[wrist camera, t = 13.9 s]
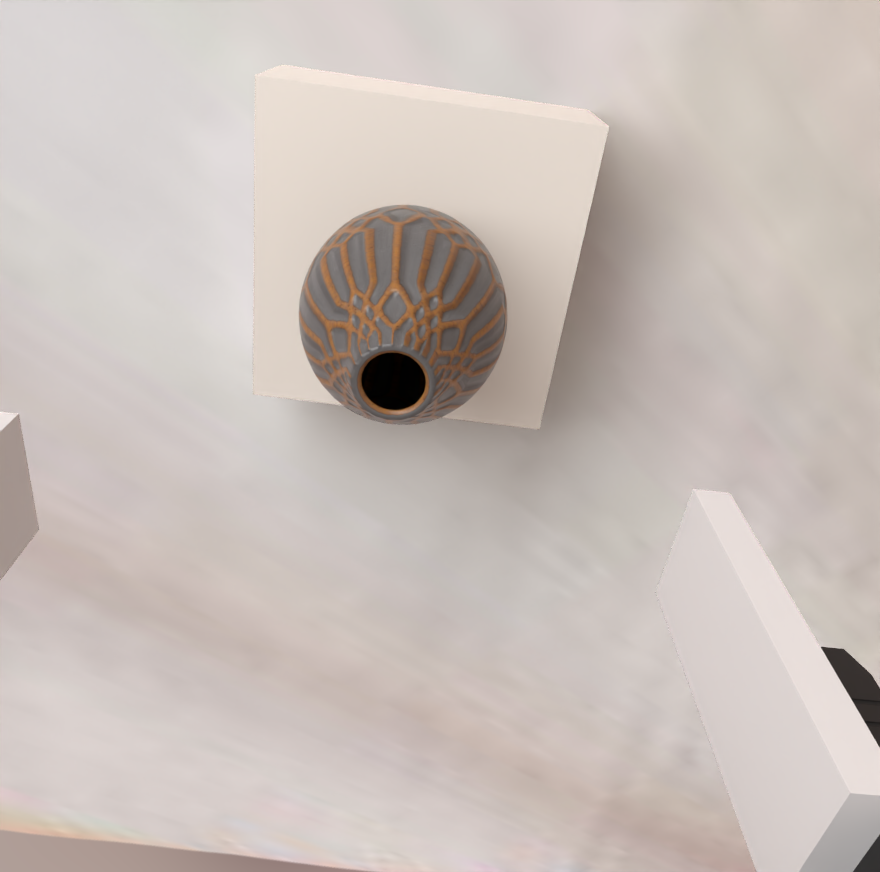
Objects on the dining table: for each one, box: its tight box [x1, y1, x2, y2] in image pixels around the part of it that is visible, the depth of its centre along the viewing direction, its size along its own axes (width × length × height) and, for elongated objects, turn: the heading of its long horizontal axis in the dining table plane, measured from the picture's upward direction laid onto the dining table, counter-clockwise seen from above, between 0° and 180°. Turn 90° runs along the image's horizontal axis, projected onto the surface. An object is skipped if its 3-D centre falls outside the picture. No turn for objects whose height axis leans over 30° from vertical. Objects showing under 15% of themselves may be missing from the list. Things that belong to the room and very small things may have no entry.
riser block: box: [253, 65, 609, 430], centre depth 30 cm, size 12×12×5 cm
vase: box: [299, 205, 508, 425], centre depth 24 cm, size 7×7×9 cm
